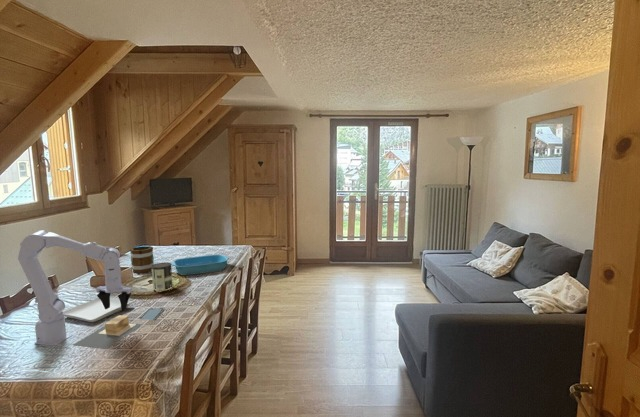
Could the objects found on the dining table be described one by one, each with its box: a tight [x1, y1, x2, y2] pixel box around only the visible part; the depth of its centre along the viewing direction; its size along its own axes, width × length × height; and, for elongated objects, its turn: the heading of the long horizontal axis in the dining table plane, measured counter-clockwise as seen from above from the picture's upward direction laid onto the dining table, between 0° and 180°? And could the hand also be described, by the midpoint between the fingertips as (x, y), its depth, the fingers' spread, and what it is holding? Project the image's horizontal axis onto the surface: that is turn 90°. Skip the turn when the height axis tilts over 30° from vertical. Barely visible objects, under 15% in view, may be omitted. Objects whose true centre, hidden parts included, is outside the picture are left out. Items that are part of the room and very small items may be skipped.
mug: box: [129, 245, 155, 274], centre depth 226 cm, size 20×14×15 cm
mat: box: [72, 322, 143, 350], centre depth 139 cm, size 15×20×1 cm
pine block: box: [104, 315, 130, 334], centre depth 143 cm, size 8×4×4 cm, turn 173°
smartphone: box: [139, 307, 165, 321], centre depth 157 cm, size 7×1×15 cm
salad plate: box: [62, 297, 133, 323], centre depth 160 cm, size 21×21×3 cm
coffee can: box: [151, 261, 173, 290], centre depth 190 cm, size 10×10×14 cm
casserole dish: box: [170, 254, 230, 276], centre depth 225 cm, size 37×22×7 cm, turn 118°
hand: (115, 308), depth 143 cm, fingers open, 7 cm apart
